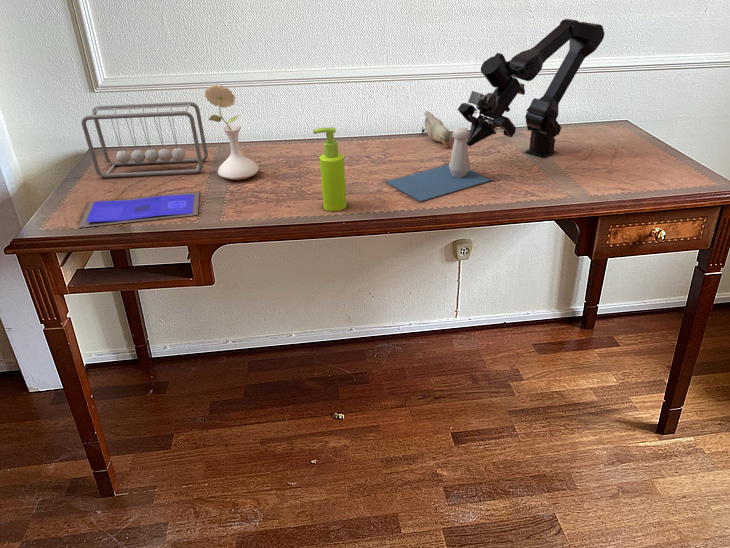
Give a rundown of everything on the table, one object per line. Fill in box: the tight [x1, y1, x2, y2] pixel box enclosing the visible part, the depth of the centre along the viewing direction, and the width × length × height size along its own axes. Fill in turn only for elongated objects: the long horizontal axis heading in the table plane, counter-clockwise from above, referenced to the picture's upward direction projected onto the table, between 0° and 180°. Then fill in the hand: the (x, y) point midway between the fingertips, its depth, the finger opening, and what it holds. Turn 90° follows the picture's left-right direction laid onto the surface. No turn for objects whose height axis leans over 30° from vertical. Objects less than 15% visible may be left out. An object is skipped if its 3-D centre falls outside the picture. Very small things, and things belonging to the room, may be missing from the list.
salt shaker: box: [448, 127, 471, 178], centre depth 165 cm, size 6×6×13 cm
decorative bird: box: [420, 110, 451, 149], centre depth 191 cm, size 5×16×8 cm, turn 21°
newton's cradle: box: [81, 101, 209, 179], centre depth 172 cm, size 30×10×18 cm, turn 95°
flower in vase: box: [203, 84, 260, 181], centre depth 165 cm, size 13×11×25 cm
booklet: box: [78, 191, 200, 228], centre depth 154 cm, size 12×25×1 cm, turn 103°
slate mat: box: [385, 163, 492, 203], centre depth 165 cm, size 24×16×1 cm, turn 123°
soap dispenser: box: [312, 126, 347, 212], centre depth 148 cm, size 6×7×20 cm
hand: (467, 145), depth 165 cm, fingers closed
